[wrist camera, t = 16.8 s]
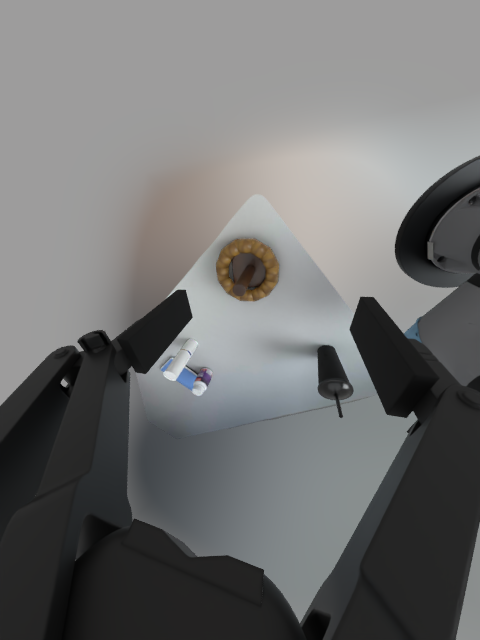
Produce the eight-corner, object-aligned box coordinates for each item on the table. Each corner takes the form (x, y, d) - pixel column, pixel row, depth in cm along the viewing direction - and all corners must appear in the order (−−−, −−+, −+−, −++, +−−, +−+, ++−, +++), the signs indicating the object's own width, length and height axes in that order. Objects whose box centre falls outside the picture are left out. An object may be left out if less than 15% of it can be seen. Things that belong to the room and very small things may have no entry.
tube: (185, 344, 67) (162, 376, 55) (188, 336, 64) (164, 369, 52) (196, 349, 67) (175, 382, 55) (199, 342, 64) (177, 375, 52)
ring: (281, 236, 38) (280, 239, 36) (277, 299, 46) (276, 305, 44) (215, 238, 42) (210, 240, 39) (222, 296, 50) (219, 301, 47)
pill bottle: (205, 365, 71) (194, 386, 63) (215, 373, 72) (206, 394, 65) (198, 370, 74) (187, 390, 66) (208, 377, 75) (198, 398, 68)
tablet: (210, 381, 77) (208, 384, 76) (195, 391, 84) (194, 393, 82) (172, 355, 72) (171, 357, 71) (160, 367, 79) (159, 369, 78)
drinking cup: (345, 345, 51) (369, 412, 35) (334, 362, 55) (351, 430, 39) (317, 338, 52) (329, 401, 36) (309, 356, 56) (316, 420, 40)
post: (269, 249, 41) (262, 267, 31) (269, 285, 46) (262, 312, 36) (232, 249, 44) (213, 267, 33) (235, 284, 48) (219, 309, 38)
